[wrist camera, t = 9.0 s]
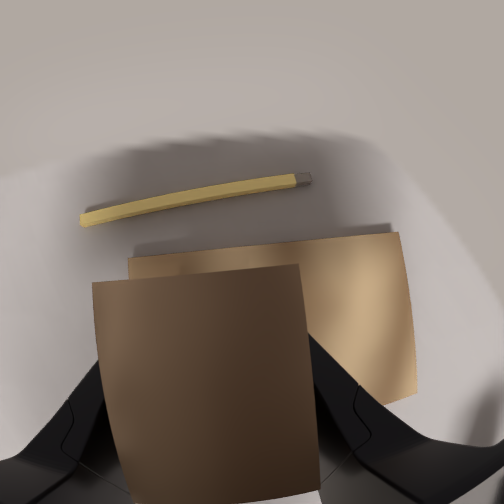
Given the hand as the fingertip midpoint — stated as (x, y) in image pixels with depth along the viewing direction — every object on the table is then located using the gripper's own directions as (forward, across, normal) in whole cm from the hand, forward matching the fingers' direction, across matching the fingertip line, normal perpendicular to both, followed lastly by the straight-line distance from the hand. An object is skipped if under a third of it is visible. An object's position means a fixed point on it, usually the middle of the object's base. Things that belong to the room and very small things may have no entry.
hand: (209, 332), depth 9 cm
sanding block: (+4, 0, +6) cm, 7 cm away
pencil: (+11, +2, 0) cm, 11 cm away
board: (+5, -4, +6) cm, 9 cm away
